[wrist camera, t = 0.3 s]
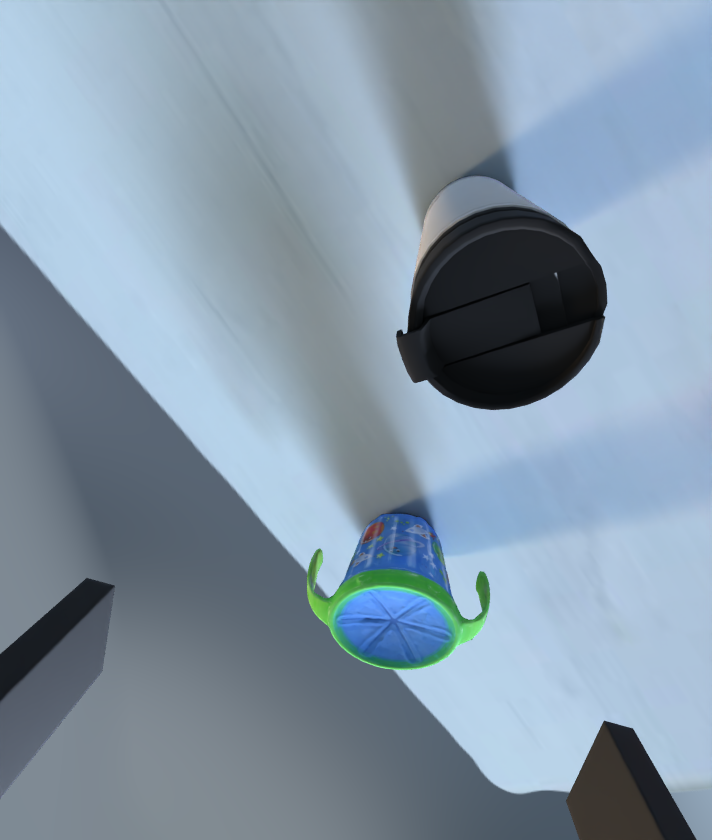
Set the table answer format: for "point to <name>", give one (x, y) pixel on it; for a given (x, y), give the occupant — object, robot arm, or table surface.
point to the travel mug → (500, 299)
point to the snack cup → (396, 598)
